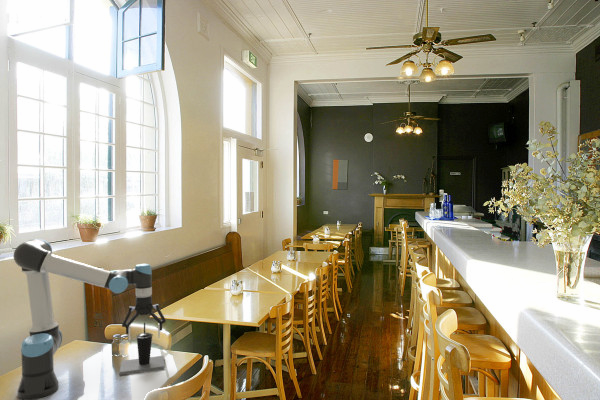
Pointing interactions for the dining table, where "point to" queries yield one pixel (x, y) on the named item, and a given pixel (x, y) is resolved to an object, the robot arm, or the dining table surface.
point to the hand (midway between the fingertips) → (144, 338)
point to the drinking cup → (144, 347)
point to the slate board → (135, 367)
